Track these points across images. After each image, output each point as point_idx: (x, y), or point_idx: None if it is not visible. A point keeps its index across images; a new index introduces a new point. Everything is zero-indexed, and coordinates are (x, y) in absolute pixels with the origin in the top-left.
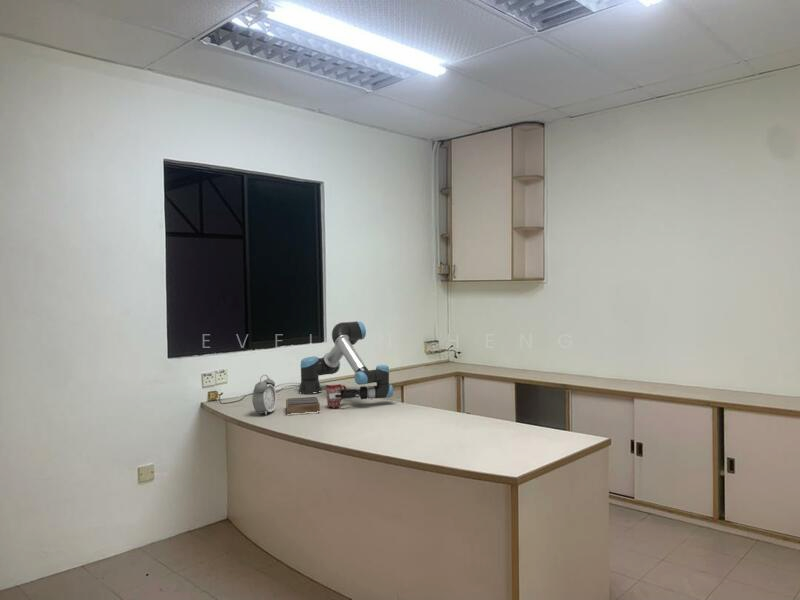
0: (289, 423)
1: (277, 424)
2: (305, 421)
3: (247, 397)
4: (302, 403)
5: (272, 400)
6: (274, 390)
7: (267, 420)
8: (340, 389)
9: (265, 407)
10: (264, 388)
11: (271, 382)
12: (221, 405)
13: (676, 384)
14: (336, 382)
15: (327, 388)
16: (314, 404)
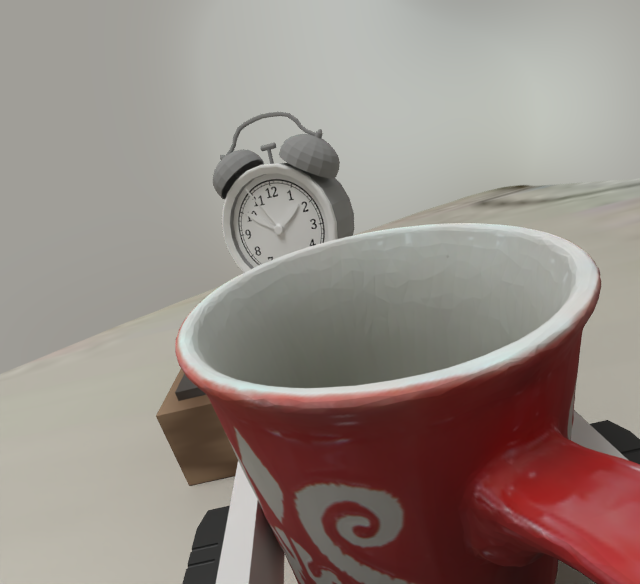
0: (63, 386)
1: (90, 356)
2: (26, 439)
3: (608, 193)
4: None
5: (315, 244)
6: (318, 197)
7: (184, 319)
8: (364, 547)
9: (240, 266)
10: (215, 185)
11: (282, 154)
12: (450, 209)
13: None
14: (576, 270)
15: (303, 314)
16: (172, 389)
